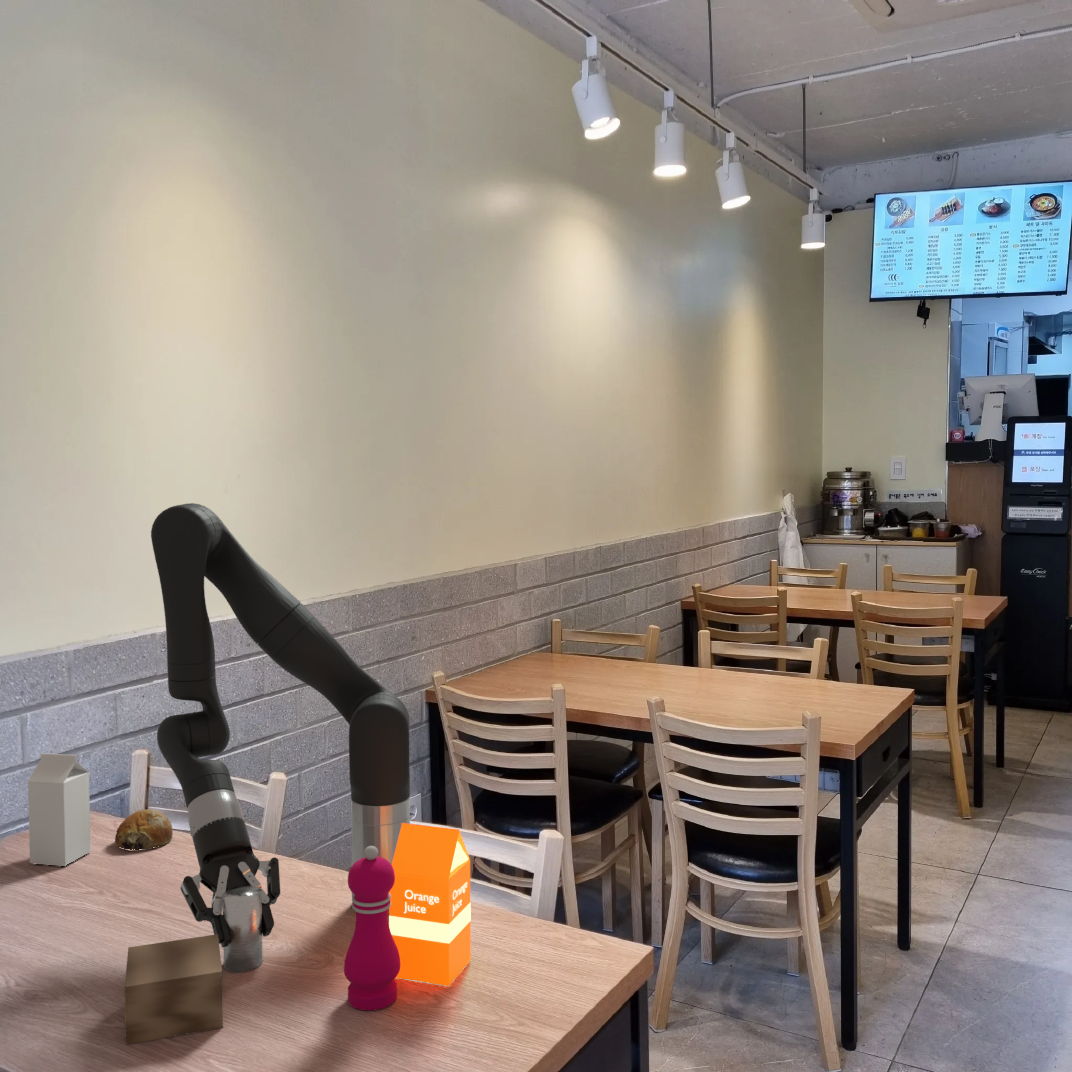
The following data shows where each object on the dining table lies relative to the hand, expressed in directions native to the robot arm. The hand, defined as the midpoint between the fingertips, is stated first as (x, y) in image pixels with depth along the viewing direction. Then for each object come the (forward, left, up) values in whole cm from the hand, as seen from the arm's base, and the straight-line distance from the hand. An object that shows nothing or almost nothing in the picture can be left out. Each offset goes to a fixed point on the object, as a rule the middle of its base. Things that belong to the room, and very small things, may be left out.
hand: (247, 938), depth 137 cm
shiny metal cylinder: (0, -2, -4) cm, 5 cm away
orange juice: (-24, +9, -4) cm, 26 cm away
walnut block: (+9, +9, -4) cm, 14 cm away
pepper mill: (-15, +14, -4) cm, 21 cm away
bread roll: (+15, -59, -5) cm, 61 cm away
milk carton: (+28, -55, -4) cm, 62 cm away
